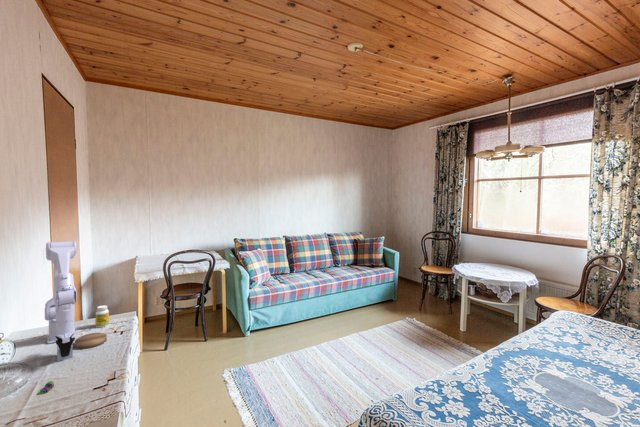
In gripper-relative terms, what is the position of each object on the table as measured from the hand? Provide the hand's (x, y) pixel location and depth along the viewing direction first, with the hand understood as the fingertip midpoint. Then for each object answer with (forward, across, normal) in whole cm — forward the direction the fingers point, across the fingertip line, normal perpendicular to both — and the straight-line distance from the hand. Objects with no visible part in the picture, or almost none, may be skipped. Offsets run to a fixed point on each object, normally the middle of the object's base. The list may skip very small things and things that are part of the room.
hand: (64, 353), depth 116 cm
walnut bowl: (+1, -8, +9) cm, 12 cm away
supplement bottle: (+2, -26, +15) cm, 30 cm away
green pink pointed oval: (+2, +22, -5) cm, 23 cm away
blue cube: (+1, 0, 0) cm, 1 cm away
